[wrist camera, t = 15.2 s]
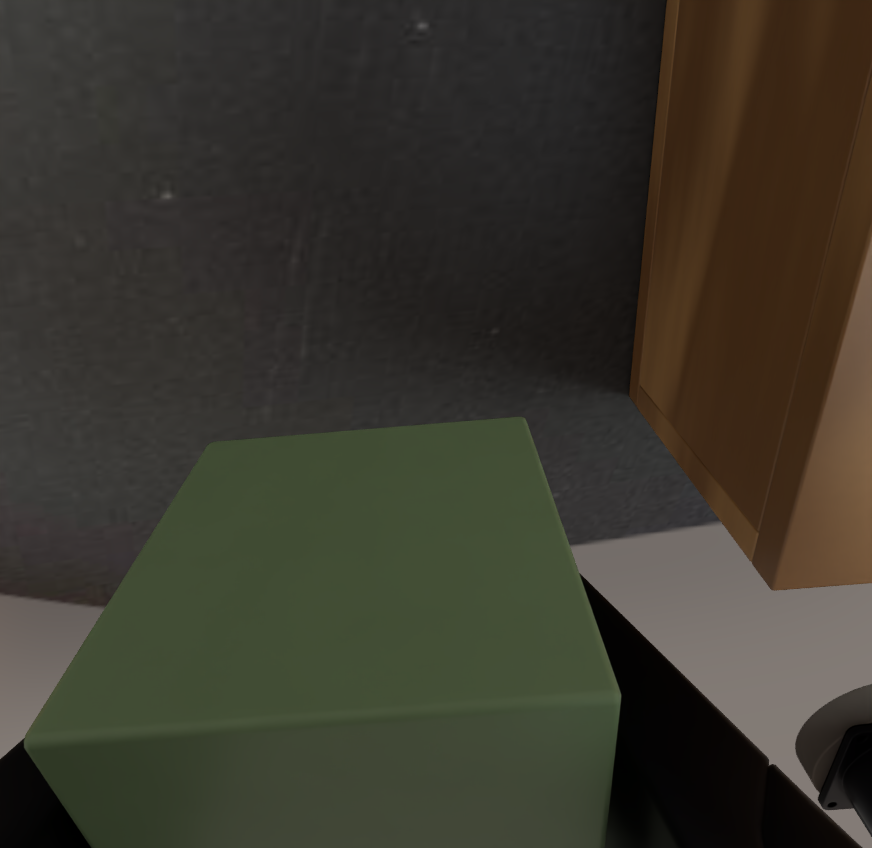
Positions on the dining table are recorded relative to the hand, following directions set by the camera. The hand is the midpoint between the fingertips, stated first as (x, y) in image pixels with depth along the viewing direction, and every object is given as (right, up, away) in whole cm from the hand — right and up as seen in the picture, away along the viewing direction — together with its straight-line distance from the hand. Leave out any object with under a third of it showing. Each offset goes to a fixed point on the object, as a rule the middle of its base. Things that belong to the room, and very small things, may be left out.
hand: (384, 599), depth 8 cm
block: (0, 0, +1) cm, 1 cm away
